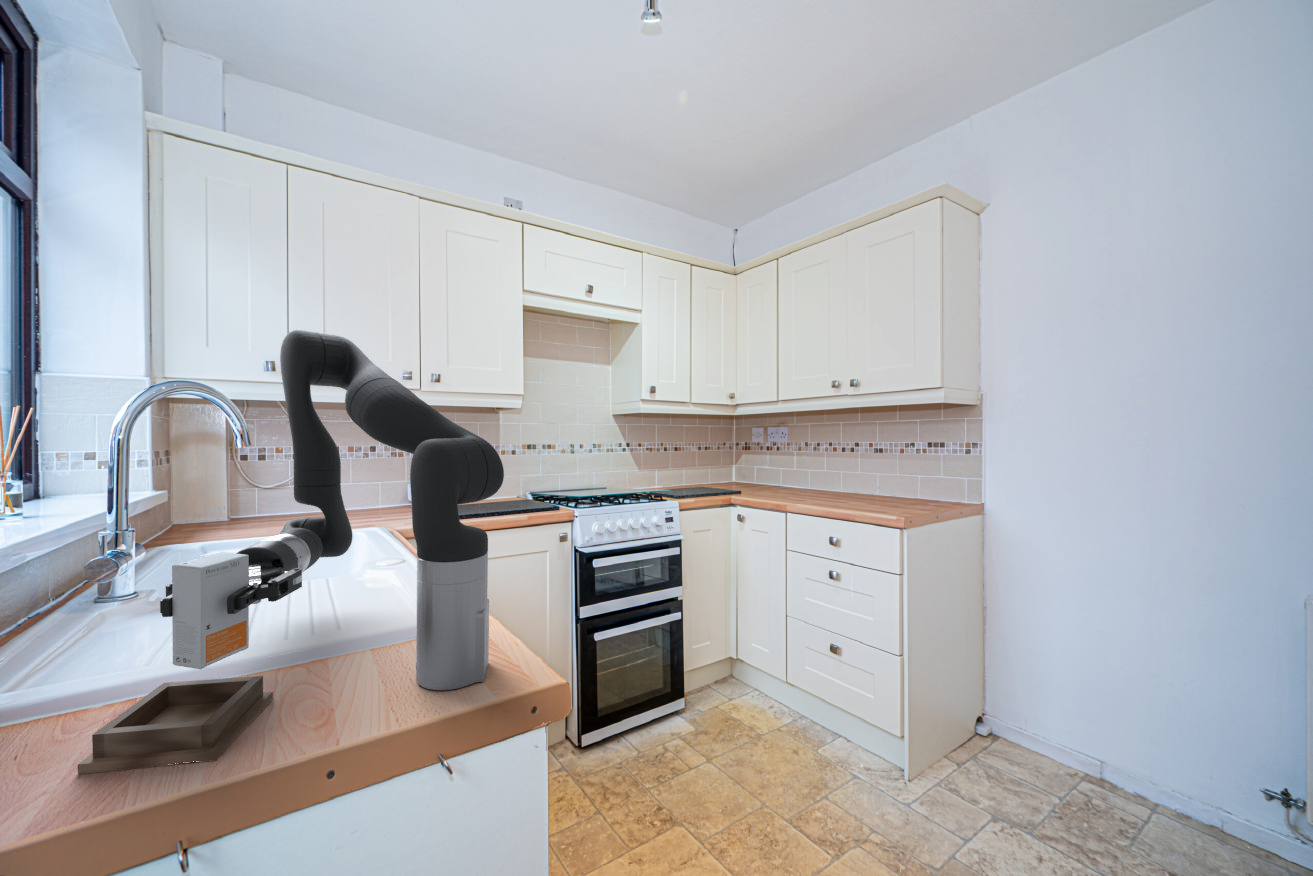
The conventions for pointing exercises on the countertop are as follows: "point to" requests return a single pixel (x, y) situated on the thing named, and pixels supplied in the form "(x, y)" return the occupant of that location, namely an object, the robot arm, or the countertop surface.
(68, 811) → the countertop surface
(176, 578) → the skincare box
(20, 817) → the countertop surface
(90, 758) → the tray
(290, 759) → the countertop surface
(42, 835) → the countertop surface
